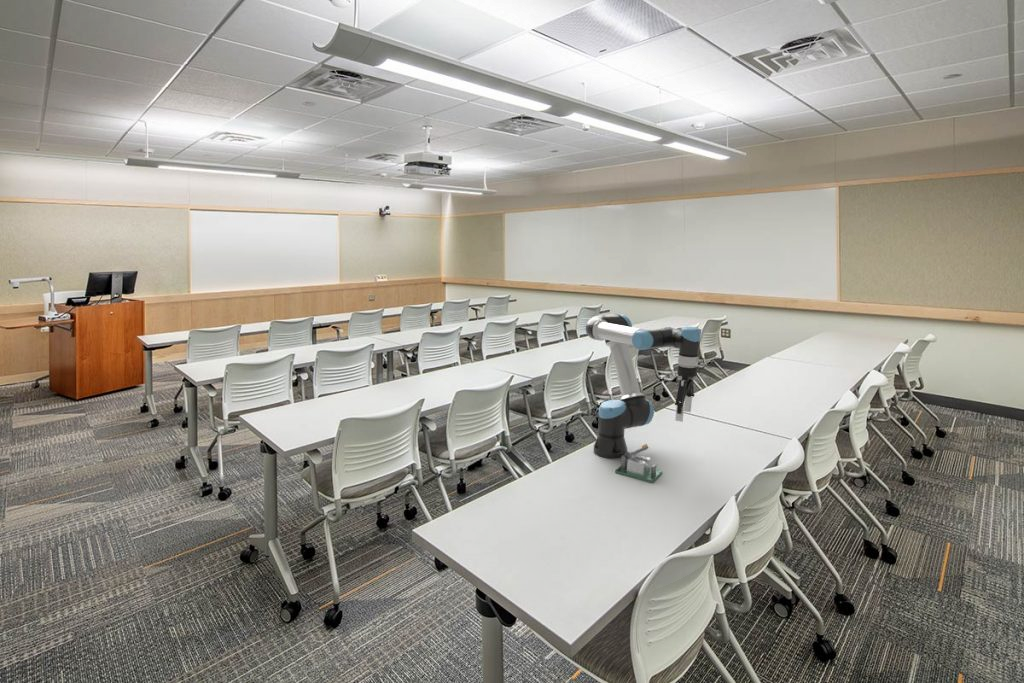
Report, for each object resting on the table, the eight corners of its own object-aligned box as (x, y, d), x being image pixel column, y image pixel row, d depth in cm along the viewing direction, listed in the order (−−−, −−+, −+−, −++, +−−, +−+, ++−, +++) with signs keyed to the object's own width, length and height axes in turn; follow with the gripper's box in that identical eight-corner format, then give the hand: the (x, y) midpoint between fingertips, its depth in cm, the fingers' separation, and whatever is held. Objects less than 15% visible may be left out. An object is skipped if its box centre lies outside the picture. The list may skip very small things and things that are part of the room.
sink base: (615, 472, 215) (615, 457, 214) (625, 463, 224) (626, 449, 222) (652, 482, 206) (653, 467, 204) (662, 473, 215) (663, 458, 213)
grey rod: (624, 459, 216) (621, 455, 217) (626, 457, 218) (623, 453, 218) (646, 449, 210) (644, 445, 210) (648, 448, 211) (646, 443, 212)
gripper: (690, 373, 196) (685, 427, 200) (704, 360, 216) (699, 409, 221) (670, 370, 199) (665, 423, 204) (685, 358, 220) (681, 406, 225)
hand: (683, 416), depth 212 cm, fingers open, 13 cm apart
